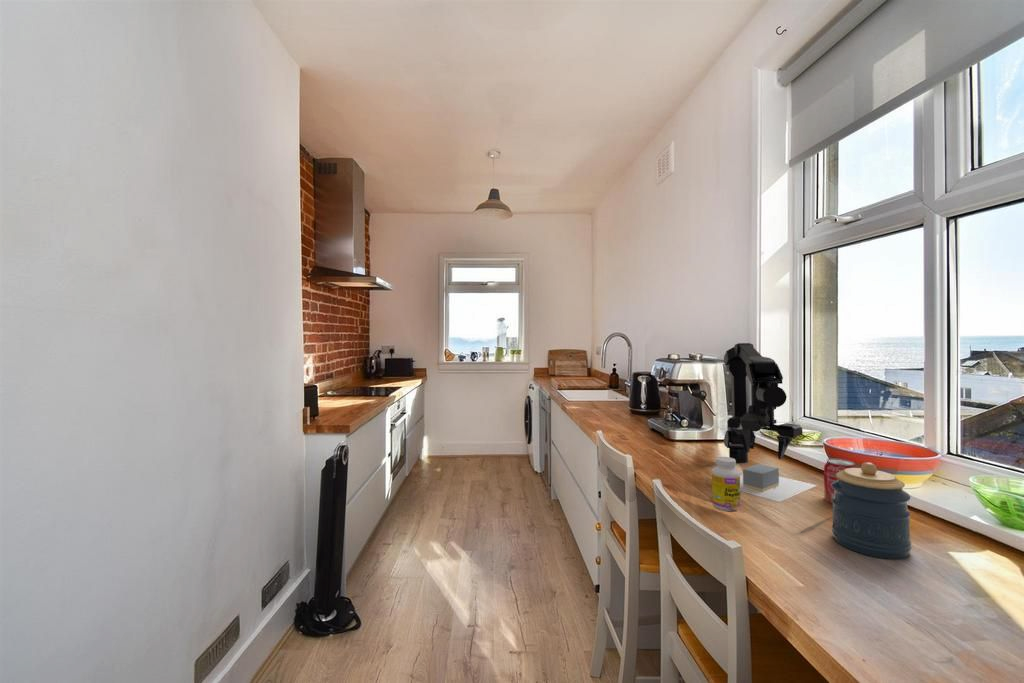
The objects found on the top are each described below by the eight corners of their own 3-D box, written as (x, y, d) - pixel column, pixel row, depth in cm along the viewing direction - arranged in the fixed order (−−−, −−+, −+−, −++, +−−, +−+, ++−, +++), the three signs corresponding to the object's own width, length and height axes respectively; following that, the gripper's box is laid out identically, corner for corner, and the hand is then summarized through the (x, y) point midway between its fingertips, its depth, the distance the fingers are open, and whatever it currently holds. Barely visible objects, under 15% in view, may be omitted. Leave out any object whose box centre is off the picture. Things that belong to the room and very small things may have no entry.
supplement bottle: (723, 513, 110) (722, 463, 110) (706, 504, 116) (706, 456, 116) (746, 511, 111) (745, 461, 111) (728, 501, 117) (728, 454, 117)
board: (754, 474, 140) (754, 470, 140) (817, 490, 125) (817, 485, 125) (714, 488, 128) (714, 483, 128) (779, 507, 113) (779, 501, 113)
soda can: (846, 502, 115) (845, 457, 115) (865, 513, 108) (864, 465, 108) (818, 502, 116) (817, 457, 116) (835, 512, 109) (834, 465, 109)
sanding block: (759, 480, 130) (759, 463, 130) (778, 485, 125) (778, 468, 125) (743, 486, 125) (742, 469, 125) (762, 491, 120) (762, 474, 120)
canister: (880, 565, 84) (879, 474, 84) (817, 536, 96) (816, 457, 96) (927, 555, 87) (926, 468, 87) (861, 528, 100) (859, 452, 100)
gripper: (716, 401, 129) (717, 453, 129) (782, 408, 113) (784, 468, 113) (736, 398, 135) (737, 447, 135) (802, 404, 119) (803, 461, 119)
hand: (763, 455), depth 126 cm, fingers open, 9 cm apart
